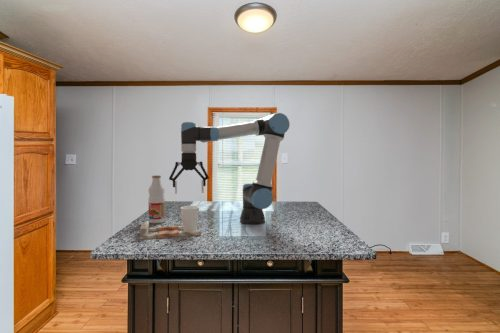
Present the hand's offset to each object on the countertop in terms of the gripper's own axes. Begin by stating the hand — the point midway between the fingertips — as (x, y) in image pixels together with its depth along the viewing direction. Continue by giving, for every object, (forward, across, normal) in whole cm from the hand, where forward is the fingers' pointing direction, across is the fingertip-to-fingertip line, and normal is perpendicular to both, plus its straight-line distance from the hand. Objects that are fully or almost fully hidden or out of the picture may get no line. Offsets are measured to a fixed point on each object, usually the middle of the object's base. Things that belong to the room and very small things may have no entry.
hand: (189, 193), depth 154 cm
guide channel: (+20, +9, 0) cm, 22 cm away
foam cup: (+21, 0, 0) cm, 21 cm away
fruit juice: (+21, +18, -29) cm, 40 cm away
